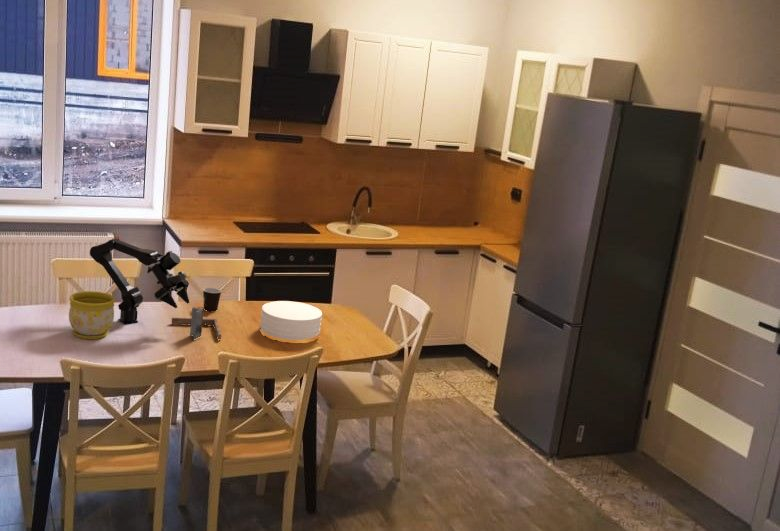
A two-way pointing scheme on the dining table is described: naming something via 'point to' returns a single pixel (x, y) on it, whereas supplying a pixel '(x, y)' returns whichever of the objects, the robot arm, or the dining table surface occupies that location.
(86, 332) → the flowerpot
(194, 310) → the bracket
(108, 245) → the robot arm
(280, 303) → the plate stack
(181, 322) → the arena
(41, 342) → the dining table surface
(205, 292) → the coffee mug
